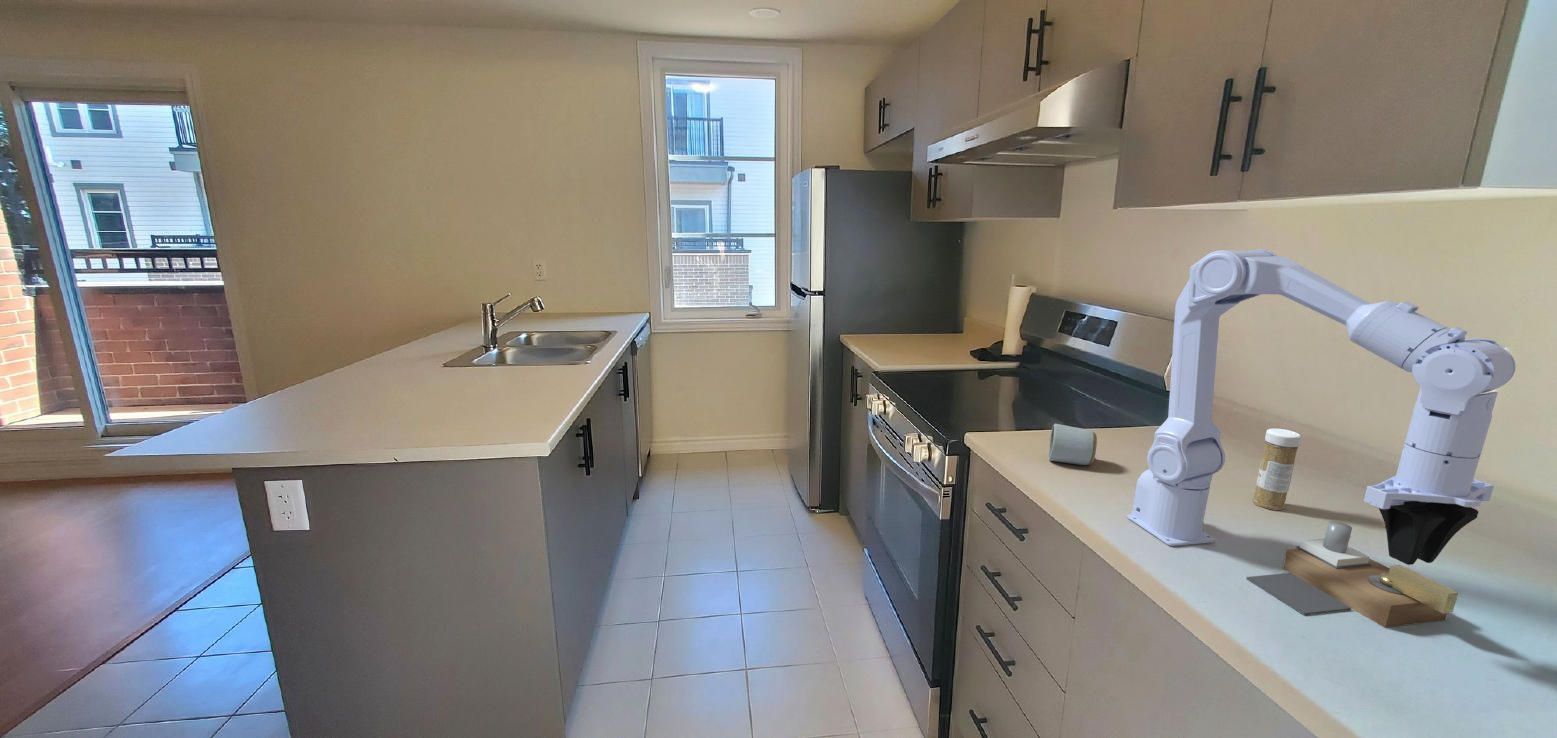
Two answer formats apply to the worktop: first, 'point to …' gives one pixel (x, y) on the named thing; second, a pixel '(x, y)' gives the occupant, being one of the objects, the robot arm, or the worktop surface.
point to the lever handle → (1420, 588)
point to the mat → (1298, 594)
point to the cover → (1335, 546)
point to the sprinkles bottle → (1276, 468)
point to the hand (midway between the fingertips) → (1410, 559)
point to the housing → (1360, 589)
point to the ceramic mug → (1072, 445)
